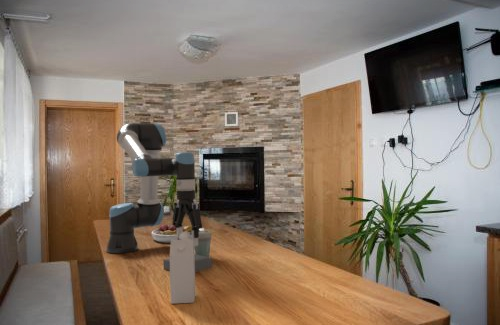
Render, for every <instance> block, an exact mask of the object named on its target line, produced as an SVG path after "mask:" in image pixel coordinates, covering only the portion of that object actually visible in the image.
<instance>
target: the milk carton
mask: <svg viewBox="0 0 500 325" xmlns="http://www.w3.org/2000/svg"><path fill="white" fill-rule="evenodd" d="M194 254H195V247H194V243H193V239H186V240H171V243H170V246H169V258H170V271H169V287H170V288H169V289H170V304H171V305H172V304H173V305H175V304H191V303H192V304H193V303H195V299H196V272H195V258H194Z"/></svg>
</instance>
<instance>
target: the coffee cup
mask: <svg viewBox="0 0 500 325" xmlns="http://www.w3.org/2000/svg"><path fill="white" fill-rule="evenodd" d="M211 239H212V233H211V231H208V230H205V231H199V237H198V246H194V254H197V255H202V256H206V257H210V252H211V251H210V250H211V241H212V240H211Z"/></svg>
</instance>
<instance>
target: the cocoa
mask: <svg viewBox="0 0 500 325" xmlns="http://www.w3.org/2000/svg"><path fill="white" fill-rule="evenodd" d="M192 229H193V228H192ZM192 229H191V230H192ZM186 239H192V232H191V233H190V232H187V231H185V232H183V233H181V234H180V236H179V238H178V239H177V240H186Z"/></svg>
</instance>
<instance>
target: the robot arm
mask: <svg viewBox="0 0 500 325" xmlns="http://www.w3.org/2000/svg"><path fill="white" fill-rule="evenodd" d="M116 141H117V143H118V145H119V147H120V148H121V149H124V150H125V152H126V153H127V155H128V156H129V158H130V160H131V161H132V163H131V171H132V174H133V176H134V177H137V178H138V177H140V198H138V200H137V202H136V205H135V204H134V203H133V202H125V203H119V204H115V205H112V206H110V208H109V215H108V217H109V238H108V241H107V244H106V252H107V253H108V254H124V253H125V254H126V253H131V252H134V251H137V250H138V249H139V243H138V241H137V239H136V236H135V229H138V228H146V227H156V226H159V225H161V224H162V222H163V220H164V214H165V210H164V205H163V204H162V203H161V200H160V199H159V198H158V184H159V183H158V182H159V177H166V176H168V177H169V176H176V177H175V180H176V190H177V191H176V200H178V201H177V202H174V203H173V214H172V215H173V216H172V225H173V226H175V227H176V235H177V239H178V238H179V236H180V234H181V233H183V227H182V226H183V221H184V219H185V215H187V216H188V219H189V222H190V226H192V228H193V229H192V230H191V232H192V239H193V243H194V246H198V237H199V229H200V228H203V222H202V218H201V213H200V212H201V211H200V203H195V201H194V200H195V199H196V178H195V174H196V173H195V172H196V171H195V161H196V160H195V155H194V153H193V152H192V151H191V152H183V151H182V152H176V154H175V157H164V158H163V157H161V158H159V156H160V155H159V153H160V152H161V151H162V149H163V147H165V146H166V143H167V134H166V130H165V128H164V126H163V125H161V124H160V123H154V122H153V123H152V122H151V123H150V122H149V123H148V122H147V123H146V122H143V123H140V122H130V123H127V124H124V125H123V126H122V127H121V128H119V130H118V131H117V133H116Z"/></svg>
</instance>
